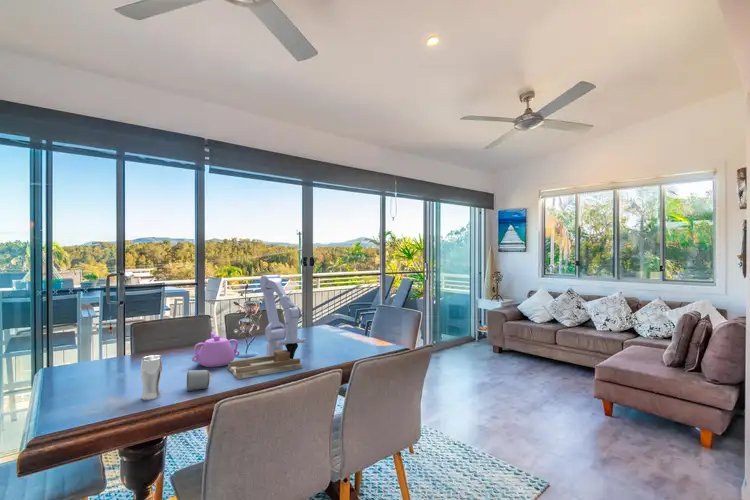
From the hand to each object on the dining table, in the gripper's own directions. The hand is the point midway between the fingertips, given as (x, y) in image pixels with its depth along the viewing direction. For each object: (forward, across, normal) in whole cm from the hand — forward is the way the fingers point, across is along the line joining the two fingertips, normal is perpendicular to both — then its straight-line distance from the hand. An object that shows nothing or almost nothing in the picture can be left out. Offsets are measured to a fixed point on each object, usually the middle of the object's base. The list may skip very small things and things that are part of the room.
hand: (291, 358), depth 188 cm
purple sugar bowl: (+3, -31, +22) cm, 38 cm away
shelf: (+3, -13, 0) cm, 13 cm away
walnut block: (+1, -5, 0) cm, 5 cm away
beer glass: (+3, -61, -12) cm, 62 cm away
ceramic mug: (+3, -45, -10) cm, 46 cm away
